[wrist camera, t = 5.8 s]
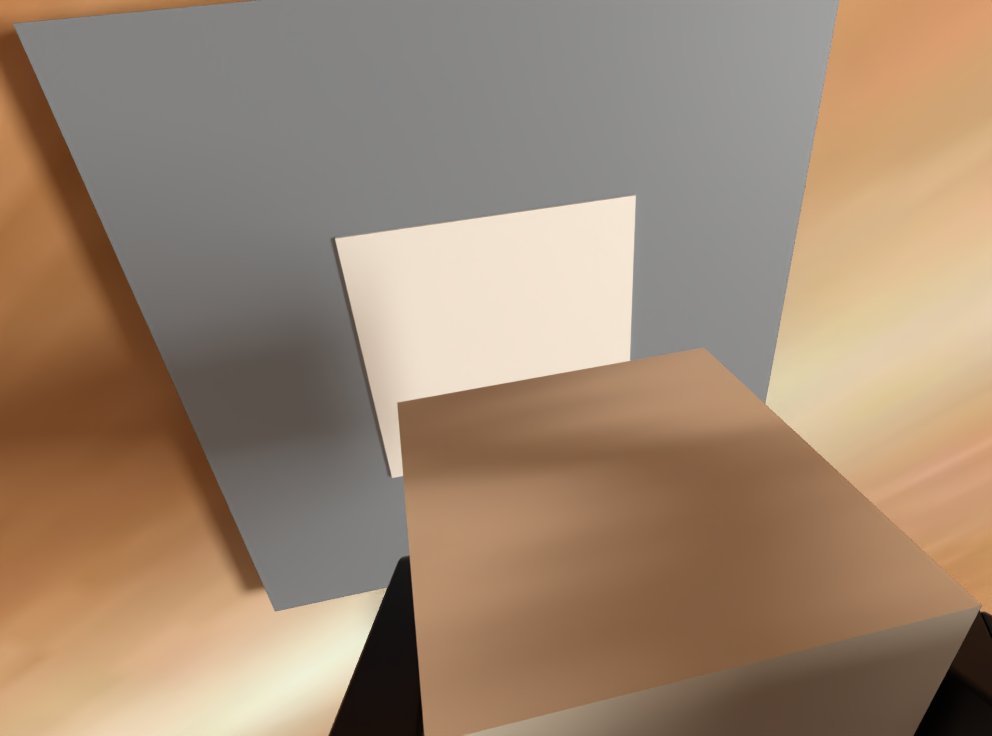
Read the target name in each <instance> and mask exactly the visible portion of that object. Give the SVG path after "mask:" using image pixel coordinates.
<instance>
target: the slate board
mask: <svg viewBox="0 0 992 736" xmlns="http://www.w3.org/2000/svg"><path fill="white" fill-rule="evenodd" d="M838 4H839V0H256V1H246V2H235V3H225V4H214V5H204V6H193V7H182V8H172V9H161V10H151V11H140V12H130V13H119V14H109V15H98V16H88V17H77V18H66V19H56V20H45V21H35V22H24V23H14V24H13V25H14V27H15V29H16V32H17V34H18V36H19V38H20V41H21V43H22V45H23V47H24V50H25V52H26V54H27V56H28V58H29V61H30V63H31V65H32V67H33V70H34V72H35V74H36V76H37V79H38V81H39V83H40V85H41V88H42V90H43V92H44V94H45V97H46V99H47V101H48V103H49V106H50V108H51V110H52V112H53V115H54V117H55V119H56V121H57V124H58V126H59V128H60V130H61V132H62V135H63V137H64V139H65V141H66V144H67V146H68V148H69V150H70V153H71V155H72V157H73V159H74V162H75V164H76V166H77V168H78V171H79V173H80V175H81V177H82V180H83V182H84V184H85V186H86V189H87V191H88V193H89V195H90V198H91V200H92V202H93V204H94V206H95V209H96V211H97V213H98V215H99V218H100V220H101V222H102V224H103V227H104V229H105V231H106V233H107V236H108V238H109V240H110V242H111V245H112V247H113V249H114V251H115V254H116V256H117V258H118V260H119V263H120V265H121V267H122V269H123V272H124V274H125V276H126V278H127V280H128V283H129V285H130V287H131V289H132V292H133V294H134V296H135V298H136V301H137V303H138V305H139V307H140V310H141V312H142V314H143V316H144V319H145V321H146V323H147V325H148V328H149V330H150V332H151V334H152V337H153V339H154V341H155V343H156V346H157V348H158V350H159V352H160V355H161V357H162V359H163V361H164V363H165V366H166V368H167V370H168V372H169V375H170V377H171V379H172V381H173V384H174V386H175V388H176V390H177V393H178V395H179V397H180V399H181V402H182V404H183V406H184V408H185V411H186V413H187V415H188V417H189V420H190V422H191V424H192V426H193V429H194V431H195V433H196V435H197V437H198V440H199V442H200V444H201V446H202V449H203V451H204V453H205V455H206V458H207V460H208V462H209V464H210V467H211V469H212V471H213V473H214V476H215V478H216V480H217V482H218V485H219V487H220V489H221V491H222V494H223V496H224V498H225V500H226V503H227V505H228V507H229V509H230V511H231V514H232V516H233V518H234V520H235V523H236V525H237V527H238V529H239V532H240V534H241V536H242V538H243V541H244V543H245V545H246V547H247V550H248V552H249V554H250V556H251V559H252V561H253V563H254V565H255V568H256V570H257V572H258V574H259V577H260V579H261V581H262V583H263V585H264V588H265V590H266V592H267V594H268V597H269V599H270V601H271V603H272V606H273V608H274V610H275V611H280V610H285V609H289V608H294V607H298V606H303V605H308V604H312V603H317V602H322V601H326V600H331V599H335V598H340V597H345V596H349V595H354V594H359V593H363V592H368V591H372V590H377V589H382V588H386V587H388V585H389V583H390V580H391V577H392V575H393V572H394V570H395V567H396V565H397V563H398V561H399V559H400V558H401V557H403V556H408V555H410V554H409V541H408V529H407V517H406V505H405V492H404V480H403V468H402V456H401V444H400V431H399V419H398V407H397V402H403V401H409V400H414V399H420V398H425V397H431V396H437V395H442V394H448V393H453V392H459V391H464V390H470V389H476V388H481V387H487V386H492V385H498V384H503V383H509V382H515V381H520V380H526V379H531V378H537V377H543V376H548V375H554V374H559V373H565V372H570V371H576V370H582V369H587V368H593V367H598V366H604V365H610V364H615V363H621V362H626V361H632V360H637V359H643V358H649V357H654V356H660V355H665V354H671V353H676V352H682V351H688V350H693V349H699V348H705V349H706V350H707V351H708V352H710V353H711V354H712V355H713V356H714V357H715V358H716V359H717V360H718V361H719V362H720V363H721V364H722V365H724V366H725V367H726V368H727V369H728V370H729V371H730V372H731V373H732V374H733V375H734V376H735V377H736V378H738V379H739V380H740V381H741V382H742V383H743V384H744V385H745V386H746V387H747V388H748V389H749V390H751V391H752V392H753V393H754V394H755V395H756V396H757V397H758V398H759V399H760V400H761V401H762V402H763V403H765V402H766V397H767V391H768V386H769V380H770V375H771V369H772V364H773V358H774V353H775V347H776V342H777V337H778V331H779V326H780V320H781V315H782V309H783V304H784V298H785V293H786V288H787V282H788V277H789V271H790V266H791V260H792V255H793V249H794V244H795V238H796V233H797V228H798V222H799V217H800V211H801V206H802V200H803V195H804V189H805V184H806V178H807V173H808V168H809V162H810V157H811V151H812V146H813V140H814V135H815V129H816V124H817V119H818V113H819V108H820V102H821V97H822V91H823V86H824V80H825V75H826V69H827V64H828V59H829V53H830V48H831V42H832V37H833V31H834V26H835V20H836V15H837V9H838Z"/></svg>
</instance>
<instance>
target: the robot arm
mask: <svg viewBox="0 0 992 736" xmlns="http://www.w3.org/2000/svg"><path fill="white" fill-rule="evenodd" d="M329 736H424V724H423V712H422V700H421V688H420V676H419V663H418V651H417V639H416V627H415V615H414V602H413V590H412V578H411V566H410V555H408V556H403V557H401V558H400V559H399V561H398V563H397V565H396V567H395V570H394V572H393V575H392V577H391V580H390V583H389V585H388V588H387V590H386V593H385V595H384V598H383V600H382V603H381V605H380V608H379V610H378V613H377V615H376V618H375V620H374V623H373V625H372V628H371V630H370V633H369V635H368V638H367V640H366V643H365V645H364V648H363V650H362V653H361V655H360V658H359V660H358V663H357V665H356V668H355V670H354V673H353V675H352V678H351V680H350V683H349V685H348V688H347V690H346V693H345V695H344V698H343V700H342V703H341V705H340V708H339V710H338V713H337V715H336V718H335V721H334V723H333V726H332V728H331V731H330V733H329ZM913 736H992V615H990V614H989V613H987V612H980V610H979V612H978V614H977V616H976V618H975V620H974V622H973V623H972V625H971V627H970V629H969V631H968V633H967V635H966V637H965V639H964V640H963V642H962V644H961V646H960V648H959V650H958V652H957V654H956V656H955V658H954V659H953V661H952V663H951V665H950V667H949V669H948V671H947V673H946V675H945V677H944V678H943V680H942V682H941V684H940V686H939V688H938V690H937V692H936V694H935V696H934V697H933V699H932V701H931V703H930V705H929V707H928V709H927V711H926V713H925V714H924V716H923V718H922V720H921V722H920V724H919V726H918V728H917V730H916V732H915V733H914V735H913Z"/></svg>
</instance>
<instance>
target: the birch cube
mask: <svg viewBox="0 0 992 736" xmlns="http://www.w3.org/2000/svg"><path fill="white" fill-rule="evenodd" d="M397 407H398V419H399V431H400V444H401V456H402V468H403V480H404V492H405V505H406V517H407V529H408V541H409V554H410V566H411V578H412V590H413V602H414V615H415V627H416V639H417V651H418V663H419V676H420V688H421V700H422V712H423V724H424V736H913V735H914V733H915V732H916V730H917V728H918V726H919V724H920V722H921V720H922V718H923V716H924V714H925V713H926V711H927V709H928V707H929V705H930V703H931V701H932V699H933V697H934V696H935V694H936V692H937V690H938V688H939V686H940V684H941V682H942V680H943V678H944V677H945V675H946V673H947V671H948V669H949V667H950V665H951V663H952V661H953V659H954V658H955V656H956V654H957V652H958V650H959V648H960V646H961V644H962V642H963V640H964V639H965V637H966V635H967V633H968V631H969V629H970V627H971V625H972V623H973V622H974V620H975V618H976V616H977V614H978V612H979V610H980V608H981V606H982V605H981V604H980V603H979V602H978V601H977V600H976V599H975V598H974V597H973V596H972V595H971V594H969V593H968V592H967V591H966V590H965V589H964V588H963V587H962V586H961V585H960V584H959V583H958V582H957V581H955V580H954V579H953V578H952V577H951V576H950V575H949V574H948V573H947V572H946V571H945V570H944V569H943V568H941V567H940V566H939V565H938V564H937V563H936V562H935V561H934V560H933V559H932V558H931V557H930V556H929V555H927V554H926V553H925V552H924V551H923V550H922V549H921V548H920V547H919V546H918V545H917V544H916V543H914V542H913V541H912V540H911V539H910V538H909V537H908V536H907V535H906V534H905V533H904V532H903V531H902V530H900V529H899V528H898V527H897V526H896V525H895V524H894V523H893V522H892V521H891V520H890V519H889V518H888V517H886V516H885V515H884V514H883V513H882V512H881V511H880V510H879V509H878V508H877V507H876V506H875V505H873V504H872V503H871V502H870V501H869V500H868V499H867V498H866V497H865V496H864V495H863V494H862V493H861V492H859V491H858V490H857V489H856V488H855V487H854V486H853V485H852V484H851V483H850V482H849V481H848V480H847V479H845V478H844V477H843V476H842V475H841V474H840V473H839V472H838V471H837V470H836V469H835V468H834V467H833V466H831V465H830V464H829V463H828V462H827V461H826V460H825V459H824V458H823V457H822V456H821V455H820V454H818V453H817V452H816V451H815V450H814V449H813V448H812V447H811V446H810V445H809V444H808V443H807V442H806V441H804V440H803V439H802V438H801V437H800V436H799V435H798V434H797V433H796V432H795V431H794V430H793V429H792V428H790V427H789V426H788V425H787V424H786V423H785V422H784V421H783V420H782V419H781V418H780V417H779V416H777V415H776V414H775V413H774V412H773V411H772V410H771V409H770V408H769V407H768V406H767V405H766V404H765V403H763V402H762V401H761V400H760V399H759V398H758V397H757V396H756V395H755V394H754V393H753V392H752V391H751V390H749V389H748V388H747V387H746V386H745V385H744V384H743V383H742V382H741V381H740V380H739V379H738V378H736V377H735V376H734V375H733V374H732V373H731V372H730V371H729V370H728V369H727V368H726V367H725V366H724V365H722V364H721V363H720V362H719V361H718V360H717V359H716V358H715V357H714V356H713V355H712V354H711V353H710V352H708V351H707V350H706V349H705V348H699V349H693V350H688V351H682V352H676V353H671V354H665V355H660V356H654V357H649V358H643V359H637V360H632V361H626V362H621V363H615V364H610V365H604V366H598V367H593V368H587V369H582V370H576V371H570V372H565V373H559V374H554V375H548V376H543V377H537V378H531V379H526V380H520V381H515V382H509V383H503V384H498V385H492V386H487V387H481V388H476V389H470V390H464V391H459V392H453V393H448V394H442V395H437V396H431V397H425V398H420V399H414V400H409V401H403V402H397Z"/></svg>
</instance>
